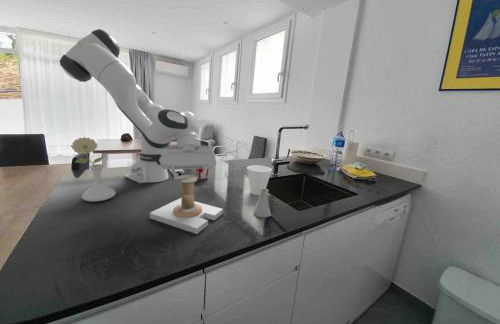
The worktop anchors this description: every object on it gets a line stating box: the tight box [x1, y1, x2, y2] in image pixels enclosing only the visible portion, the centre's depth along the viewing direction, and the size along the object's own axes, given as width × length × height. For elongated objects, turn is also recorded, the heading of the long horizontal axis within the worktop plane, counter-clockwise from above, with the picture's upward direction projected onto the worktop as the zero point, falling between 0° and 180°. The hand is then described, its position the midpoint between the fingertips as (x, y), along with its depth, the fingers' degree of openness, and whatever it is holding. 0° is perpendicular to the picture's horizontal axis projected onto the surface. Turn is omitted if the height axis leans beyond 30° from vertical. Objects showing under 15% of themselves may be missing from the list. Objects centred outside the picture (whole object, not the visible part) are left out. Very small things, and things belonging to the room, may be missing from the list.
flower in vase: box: [70, 136, 117, 203], centre depth 85 cm, size 13×11×25 cm
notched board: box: [149, 197, 224, 235], centre depth 79 cm, size 20×16×3 cm
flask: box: [252, 188, 272, 219], centre depth 84 cm, size 7×7×10 cm
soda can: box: [195, 169, 210, 180], centre depth 121 cm, size 7×7×12 cm
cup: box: [246, 164, 272, 196], centre depth 105 cm, size 12×12×12 cm
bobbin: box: [177, 173, 198, 213], centre depth 77 cm, size 6×6×12 cm
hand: (189, 178), depth 80 cm, fingers open, 8 cm apart
